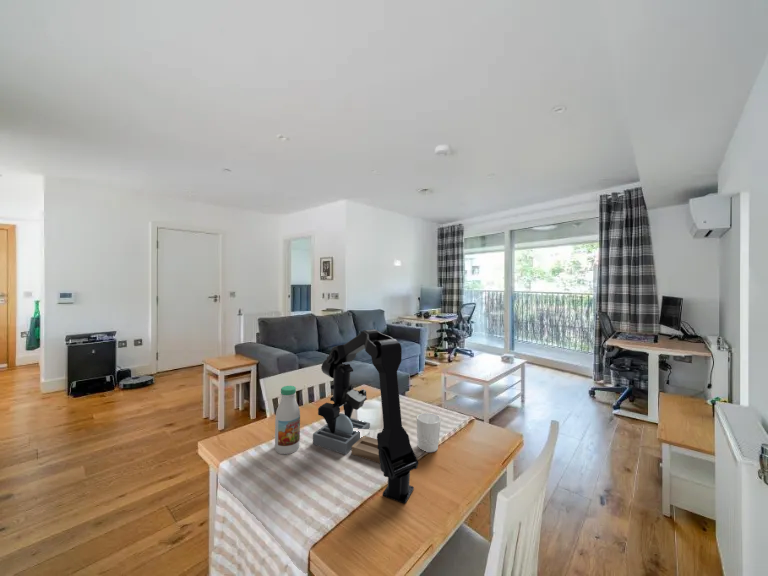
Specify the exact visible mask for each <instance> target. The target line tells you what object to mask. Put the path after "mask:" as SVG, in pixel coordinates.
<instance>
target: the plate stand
mask: <svg viewBox="0 0 768 576" xmlns="http://www.w3.org/2000/svg"><path fill="white" fill-rule="evenodd" d="M377 448H378V441H377V438H373V437H370V436H368V435H367V436H363V437H361V438H360V439H359V440H358V441H357V442H356V443H355V444H354V445H353V446H352V449H351V450H350V451H351V455H353V456H356V457H359V458H361V459H362V458H363V459H364V460H368V461H371V462H375V463H377V464H380V459H379V453H378V452H379V449H377Z"/></svg>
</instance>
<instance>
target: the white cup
mask: <svg viewBox="0 0 768 576" xmlns="http://www.w3.org/2000/svg"><path fill="white" fill-rule="evenodd" d="M441 419H442V418H441V417H440V415H438V414H436V413H432V412H422V413H419V414H418V415H417V416H416V439H417V448H418V447H419V448H420V449H422V450H425V451H426V452H425V453H435V452H436V451H438V450H439V449H438V448H439V441H440V434H441V433H440V432H441V423H442V420H441ZM419 448H418V449H419ZM420 449H419V450H420Z"/></svg>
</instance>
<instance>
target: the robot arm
mask: <svg viewBox="0 0 768 576" xmlns="http://www.w3.org/2000/svg"><path fill="white" fill-rule="evenodd" d="M363 350H364V351H365V352H366V353H367V354H368V355H369V356H370V358H371V363H372V365H373V366H374V368H375V370H376V371H377V372H378V376H379V387H380V388H379V389H380V390H379V391H380V399H381V400H380V401H381V410H382V411H381V413H382V423H383V424H382V425H383V426H382V427H383V428H382V430H381V431H380V432H377V434H376V439H377V441H378V448H377V449H379V452H378V453H379V459H380V463H379V465H380V466H379V467H380V470H381V472H382V473H383V477H384V478H387V486H386V488H385V489H384V490H383V492H382V496H383V497H385V498H388V499H392V500H393V501H396V502H399V503H402V504H406V503H407V501H408V500H409V498H410V496H411V495H412V493H413V491H414V489H415V488H414V486H413V485H410V481H411V479H410V478H411V477H410V476H411V471H412V470H416V469H417V468H418V465H419V461H418V457H417V456H416V454H415V451H414V449H413V448H412V444H411V441H410V436H409V434H408V433H407V430H406V429H405V428H404V427H403V422H402V413H401V412H402V411H401V401H400V389H399V388H400V387H399V378H398V371H399V369H400V366H401V363H402V360H403V359H402V356H403V355H402V354H403V352H402V351H403V348H402V345H401V342H399V341H398V340H397V339H396V338H393V337H392V336H389V335H387V334H385V333H383V332H382V333H381V332H380V331H379V330H377V329H374V328H373V329H372V328H371V329H365V330H362V331H361V332H360V333H359V334H358V335H357V336H355V337H353V338H352V339H350V340H349V341H347V342H346V343H344V344H339V345H336V346H333V347H332V348H331V349H330V352H329V354H328V355H327V356H326V359H325V360H324V361H323V362H322V364H321V366H320V367H321V371H322V373H323V374H325V375H326V376H327V377H329V378H331V379H333V380H332V381H333V384H331V385H330V389H331V390H332V396H331V397H329V398H330V399H329V400H330V401H331V402H333V403H330V402H325V403H324V404H321V405H320V406H318V407H317V415H318V416H321V417H322V418H323V419H324V420H325V422H326V424H327V425H328V427H329V429H330V431H331V433H335V427H336V419H337V418H338V417H339V416H340V415H339V413H341V407H343V412H344V413H343V414H345V415H346V416H347V417H348V418H349V419H350V418H352V415H353V411H354V410H356V411H357V410H359V409H360V408H362V407H363V406H364V403H365V402H366V401H367V399H368V398H367V390H366V389H364V388H362V389H360V390H357V389H354V386H353V384H351V373H352V372H354V368H353V367H352V366H351V364H349V363H350V362H352V361H354V360H355V358H356V357H357V354H358V353H360V352H361V351H363ZM346 363H347V364H346Z"/></svg>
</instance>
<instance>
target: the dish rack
mask: <svg viewBox="0 0 768 576" xmlns="http://www.w3.org/2000/svg"><path fill="white" fill-rule="evenodd" d="M350 420H351V422H352V425H353V428H358V429H369V428H370V429H371V423H370V422H368V421H364V422H362V421H363V420H361V421H359V419H356V418H352V417H351V418H350ZM359 439H360V432H359V431H358V432H356V431H353V433H352V435H351V434H347V433H344V432H341V431H337V430H335V433H331V431H330V429H329V427H328V425H327V423H326V424H325V425H324V426H322V427H320V428H319V429H317V430H316V431H315V432H314V433H312V445H315V446H318V447H320V448H324V449H326V450H330V451H333V452H337V453H340V454H342V455H347V454H349V453H350V451H351V449H352V446H353V445H354V444H355V443H356V442H357V441H358V440H359Z"/></svg>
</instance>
